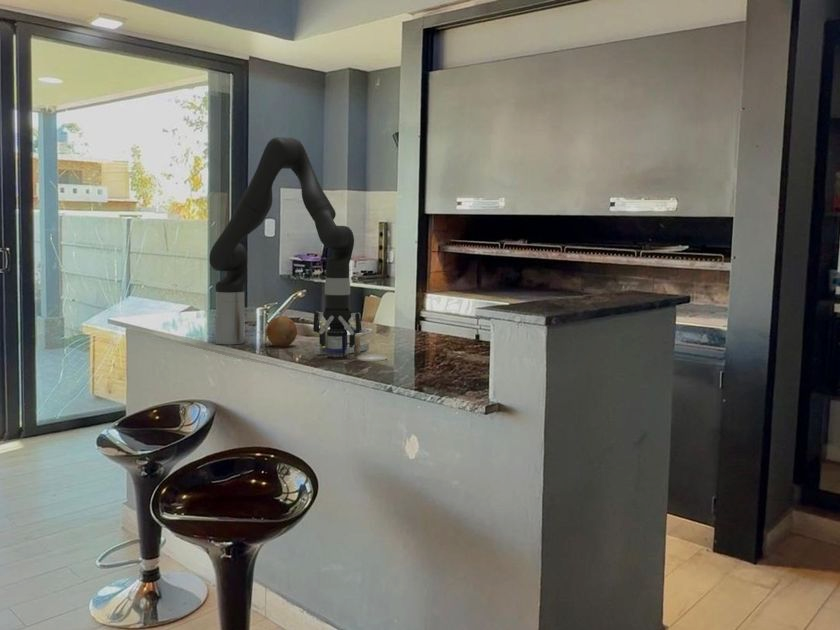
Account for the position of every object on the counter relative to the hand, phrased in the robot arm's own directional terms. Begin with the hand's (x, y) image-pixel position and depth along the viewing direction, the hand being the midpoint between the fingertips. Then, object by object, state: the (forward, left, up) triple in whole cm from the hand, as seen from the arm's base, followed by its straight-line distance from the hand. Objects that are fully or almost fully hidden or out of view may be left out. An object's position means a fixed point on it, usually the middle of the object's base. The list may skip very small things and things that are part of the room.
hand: (337, 346), depth 231 cm
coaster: (+10, -2, -3) cm, 11 cm away
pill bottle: (0, 0, -4) cm, 4 cm away
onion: (-17, +23, -4) cm, 29 cm away
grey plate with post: (0, +11, -3) cm, 11 cm away
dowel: (+6, +3, -3) cm, 8 cm away
